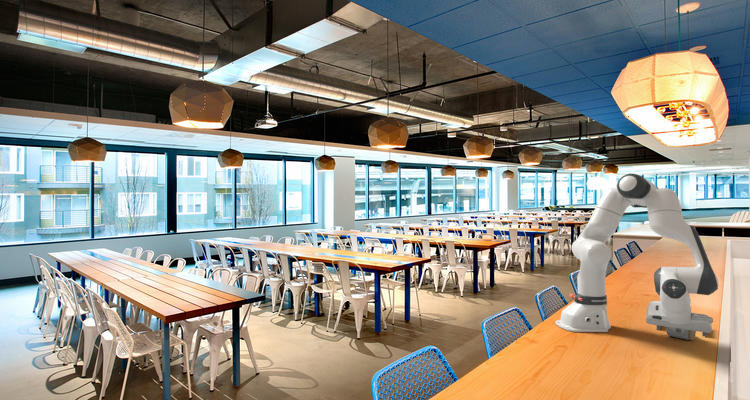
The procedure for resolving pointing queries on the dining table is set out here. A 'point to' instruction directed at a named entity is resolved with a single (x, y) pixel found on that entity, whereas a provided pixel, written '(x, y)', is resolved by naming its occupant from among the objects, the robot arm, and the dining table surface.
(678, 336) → the grey cylinder
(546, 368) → the dining table surface
